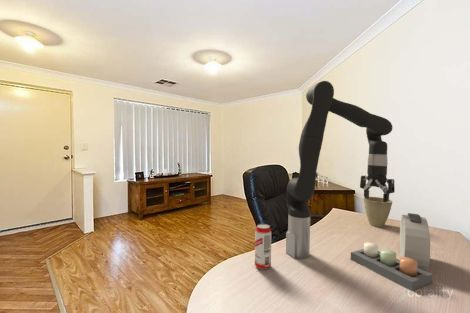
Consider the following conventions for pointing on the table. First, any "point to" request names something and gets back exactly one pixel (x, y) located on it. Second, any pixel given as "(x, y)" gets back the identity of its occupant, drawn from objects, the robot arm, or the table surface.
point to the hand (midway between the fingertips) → (375, 200)
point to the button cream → (370, 250)
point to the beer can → (263, 246)
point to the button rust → (408, 266)
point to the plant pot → (377, 210)
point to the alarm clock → (415, 239)
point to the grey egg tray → (393, 271)
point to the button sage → (388, 257)
